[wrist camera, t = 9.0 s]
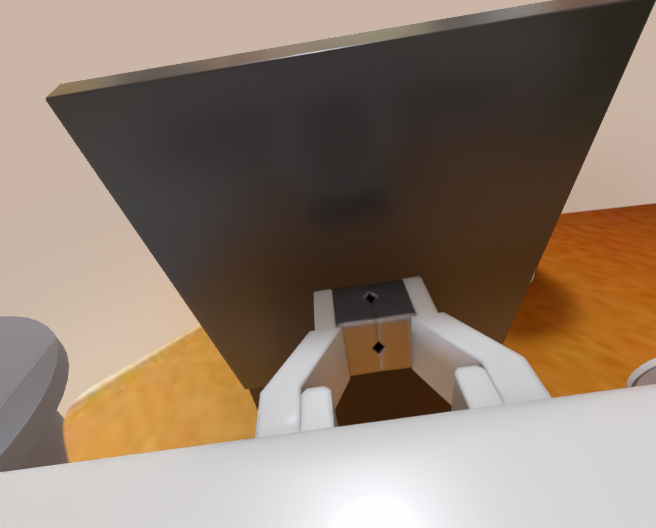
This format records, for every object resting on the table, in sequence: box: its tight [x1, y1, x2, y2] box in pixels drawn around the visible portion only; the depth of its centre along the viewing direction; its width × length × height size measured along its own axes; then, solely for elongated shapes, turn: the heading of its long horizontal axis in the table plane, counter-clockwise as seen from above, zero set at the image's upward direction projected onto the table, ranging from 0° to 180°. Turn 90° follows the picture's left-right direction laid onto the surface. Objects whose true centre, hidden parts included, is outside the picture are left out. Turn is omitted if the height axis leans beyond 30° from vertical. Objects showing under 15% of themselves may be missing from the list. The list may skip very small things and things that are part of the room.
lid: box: [46, 0, 656, 389], centre depth 13 cm, size 14×13×1 cm
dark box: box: [249, 368, 452, 427], centre depth 26 cm, size 14×13×9 cm
